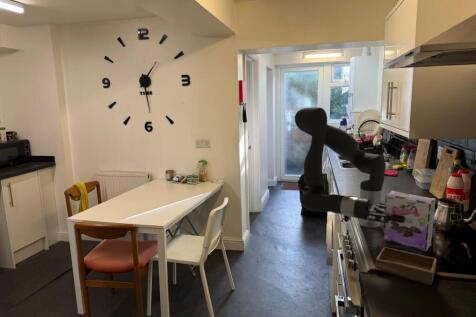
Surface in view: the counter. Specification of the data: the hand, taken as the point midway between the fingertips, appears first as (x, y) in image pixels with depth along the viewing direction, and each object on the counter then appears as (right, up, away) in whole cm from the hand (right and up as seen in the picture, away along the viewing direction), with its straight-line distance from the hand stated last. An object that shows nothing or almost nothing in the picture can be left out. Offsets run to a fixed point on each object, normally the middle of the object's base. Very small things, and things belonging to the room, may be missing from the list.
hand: (406, 216), depth 108 cm
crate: (+1, -19, +3) cm, 19 cm away
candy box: (+1, -9, +1) cm, 9 cm away
